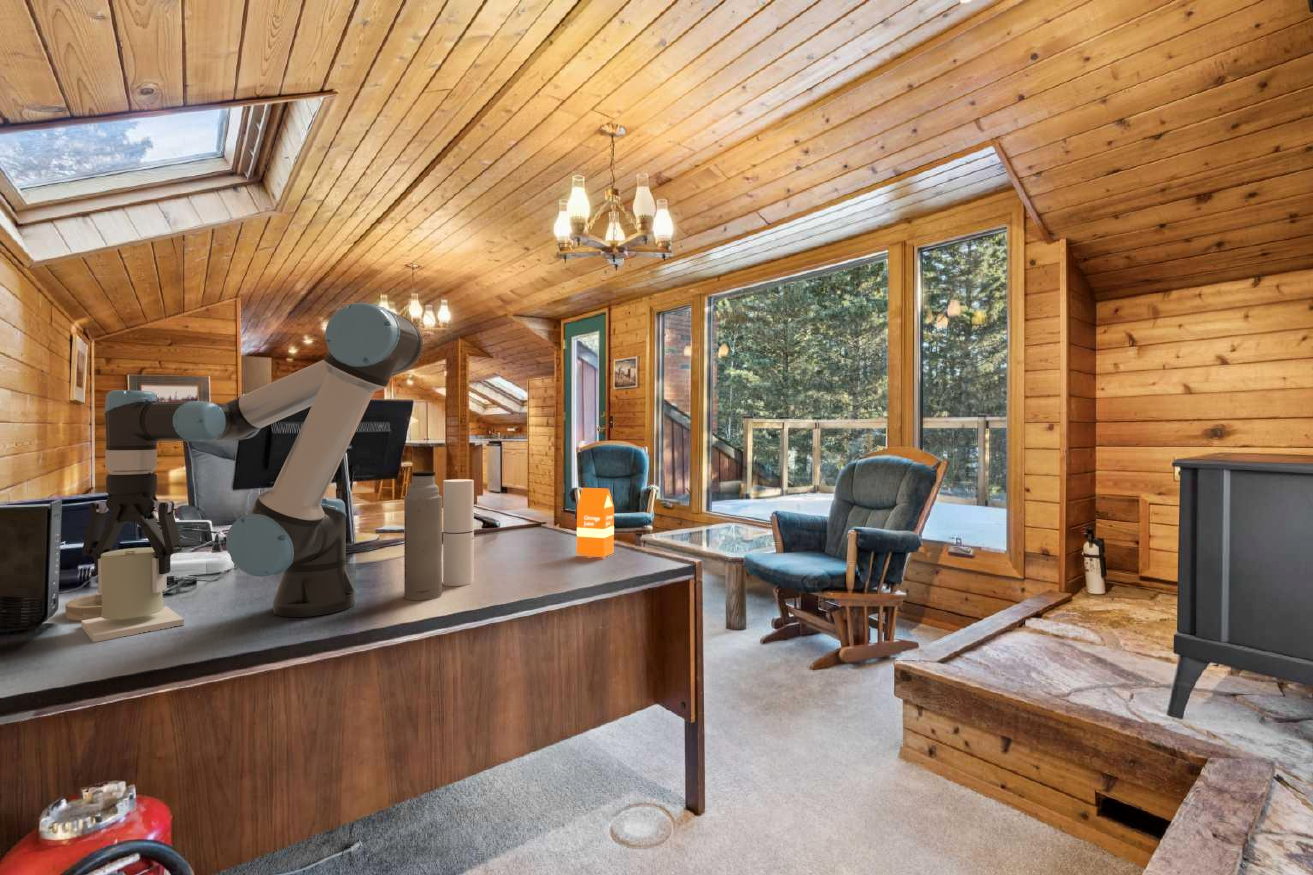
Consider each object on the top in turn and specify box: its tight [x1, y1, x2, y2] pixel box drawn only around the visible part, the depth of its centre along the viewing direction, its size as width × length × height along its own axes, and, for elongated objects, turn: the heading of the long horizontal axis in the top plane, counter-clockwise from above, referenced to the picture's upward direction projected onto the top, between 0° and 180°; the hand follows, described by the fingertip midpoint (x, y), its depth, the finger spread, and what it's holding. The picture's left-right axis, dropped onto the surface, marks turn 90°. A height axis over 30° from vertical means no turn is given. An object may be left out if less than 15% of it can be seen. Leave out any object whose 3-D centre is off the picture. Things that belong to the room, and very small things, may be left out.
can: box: [101, 546, 165, 619], centre depth 121 cm, size 9×9×12 cm
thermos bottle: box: [403, 470, 443, 601], centre depth 144 cm, size 8×8×28 cm
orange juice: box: [576, 487, 615, 557], centre depth 191 cm, size 8×9×20 cm
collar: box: [64, 593, 102, 622], centre depth 131 cm, size 16×13×2 cm
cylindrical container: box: [442, 478, 475, 587], centre depth 156 cm, size 7×7×25 cm
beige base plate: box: [80, 606, 185, 643], centre depth 121 cm, size 13×13×1 cm
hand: (133, 591), depth 121 cm, fingers closed on can, 9 cm apart
